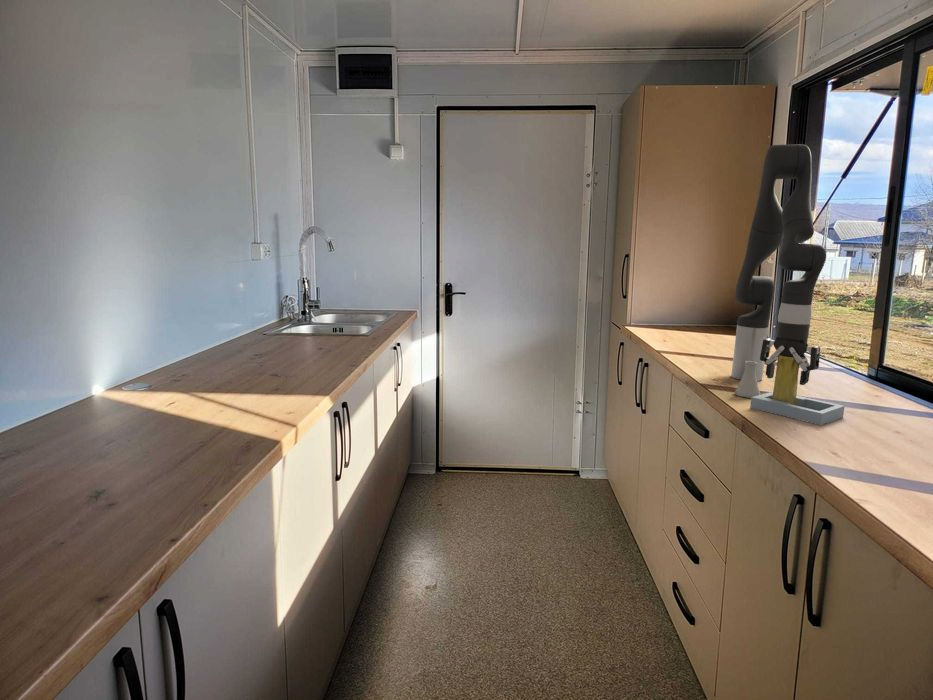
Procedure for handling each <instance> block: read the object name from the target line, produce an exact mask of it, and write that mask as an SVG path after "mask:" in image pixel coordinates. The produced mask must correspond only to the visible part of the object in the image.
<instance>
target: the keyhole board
mask: <svg viewBox="0 0 933 700" xmlns="http://www.w3.org/2000/svg"><path fill="white" fill-rule="evenodd" d="M772 395H773V391H770V392H765V393H762V394H761V393H760V395H758V396H754V397H751V398H750V409H753V410H757V411H760V412H761V411H762V412H765V411H766V413H769V412H770V414H773V413H775V414H774V415H777V414H780V415H779V416H781V415H784V416H783V417H785V416H788V417H787V418H789V417H791V418H790V419H793V418H796V419H795V420H797V419H800V420H799V421H801V420H804V421H803V422H805V421H808V422H807V423H809V422H812V423H811V424H813V423H816V424H815V425H818V424H820V425H819V426H822V424H823V425H826V424H828V423H831V422H833V421H834V422H835V421H836V420H839V419H841V418H844V415H845V414H844V413H845V405H842V404H838V403H834V402H828V401H823V400H820V399H814V398H809V397H806V396H800V395H796V404H795V405H791V403H786V402H782V401H778V400H773V399H772ZM825 423H826V424H825Z"/></svg>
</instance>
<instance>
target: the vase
mask: <svg viewBox="0 0 933 700" xmlns="http://www.w3.org/2000/svg"><path fill="white" fill-rule="evenodd" d="M775 370H776V371H775V378H774V384H773V390H772V392H773V395H772V399H773V400H778V401H782V402H786V403H791V405H795V404H796V395H797V394H798V393H797V392H798V383H799V372H800V371H799V370H800V365H799V364H798V363H797V361H796V360H795V358H794V357H785V356H781V355H778V360H777V361H776V369H775ZM797 396H798V395H797Z"/></svg>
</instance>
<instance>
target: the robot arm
mask: <svg viewBox="0 0 933 700" xmlns="http://www.w3.org/2000/svg"><path fill="white" fill-rule="evenodd" d="M760 179H761V181H760V186H759V193H758V197H757V202H756V207H755V209H754V210H755V211H754V215H753V219H752V222H751V226H750V230H749V235H748V241H747V245H746V251H745V255H744V260H743V263H742V267H741V269H740V272H739V276H738V279H737V283H736V286H735V294H734V297H735V301H736V302H737V303H738V304H740V305H746V306H748V305H749V306H757V308H756V309H755V310H753V311H752V312H750V313H746V314H742V315H739V316H738V318H737V320H736V331H735V340H734V349H733V358H732V367H731V374H730V375H731V376H730V377H731V378H733V379H737V380H740V381H741V379H742V377H743V375H744V372H745V368H746V364H745V361H753V362H757V364H756V366H755V374H756V379H757V382H760V381H762V380H763V376H764V369H765V376H767V379H773V378H774V375H775V370H776V369H775V368H776V364H775V363H777V361H778V355H781V356H785V357H794V358H795V360H796V361H797V363H798V364H799V368H801V372H800V378H799V385H801V386H806V384H808V382H809V381H810V374H811V371H814V370H818V369H819V368H820V356H821V347H820V346H819V345H818V346H817V345H816V346H809V345H808V340H809V334H810V333H809V332H810V327H811V321H812V320H811V319H812V303H813V297H814V291H815V286H816V284H817V282H818V279H819V277H820V275H821V272H822V270H823V268H824V266H825V263H826V261H827V252H826V251H827V250H826V248H825V247H824V246H823V245H822V244H819V243H804V242H807V241H809V240H810V239H812V238H813V236H814V233H815V228H814V221H813V213H812V206H811V205H812V204H811V200H812V199H811V198H812V197H811V195H812V194H811V193H812V153H811V149H810V147H809V146H808V145H807V144H802V143H799V144H798V143H797V144H789V143H788V144H773V145H770V146H769V148H768V149H767V152H766V153H765V156H764V162H763V167H762V174H761V178H760ZM777 180H796V186H795V188H794V189H793V192H792V193H791V195H790V196H789V198H788V199H787V201H786V202H785V203H784V205H783V208H782V206H781V204H780V202H779V199H778V198H777V195H776V190H775V188H776V187H775V186H776V185H775V184H776V182H777ZM781 244H782V245H781ZM780 246H781V248H780V252H779V256H778V262H779V265H780V267H781V268H782V269H784V270H785V271H789V272H792V271H793V272H804V274H803V275H802V276H801V277H799V278H797V279H791V280H787V281H785V282H784V284H783V286H782V292H781V293H782V294H781V300H780V301H781V303H780V305H779V306H780V307H779V310H778V315H777V325H776V332H775V340H773V339H771V338H768V333H769V325H770V319H771V311H772V307H773V300H774V297H775V296H774V295H775V280H774V278H773V277H772V276H763V275H755V273H756V271H757V269H758V268H759V267H760V266H761V265H762V263H764V261H766V260H767V259H768V258H769V257H770V256H772V254H773V253H775V252H776V250H777V249H778V248H779V247H780ZM773 347H774V348H775V351H774V352H773V353H772V354H771V355H770V353H771V348H773ZM806 352H808V354H809V355H810V356H809V357H810V358H809V359H808V357H807V356H806V355H805V354H806ZM765 364H766V367H765Z"/></svg>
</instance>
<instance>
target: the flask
mask: <svg viewBox="0 0 933 700" xmlns="http://www.w3.org/2000/svg"><path fill="white" fill-rule="evenodd" d="M745 364H746V368H745V372H744V375H743V377H742V379H741V380H740V381H739V384H738V386H737V387H736V389H735V391H734V393H733V394H734V395H736V396H738V397H741V398H749V399H751V397H754V396H758V395H761V392H760V388H759V384H758V381H757V379H756V374H755V366H756V364H757V362H753V361H745Z"/></svg>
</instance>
